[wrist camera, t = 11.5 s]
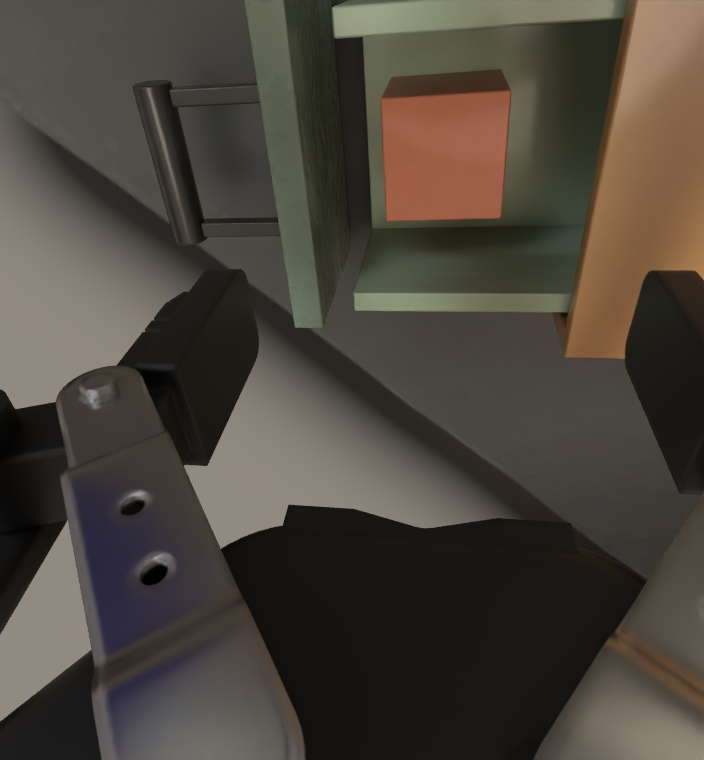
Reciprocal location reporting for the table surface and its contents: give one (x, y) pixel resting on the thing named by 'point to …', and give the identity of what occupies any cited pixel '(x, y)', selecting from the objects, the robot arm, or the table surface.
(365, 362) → the table surface
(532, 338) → the table surface
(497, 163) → the block
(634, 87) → the wooden drawer cabinet
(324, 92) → the storage drawer
